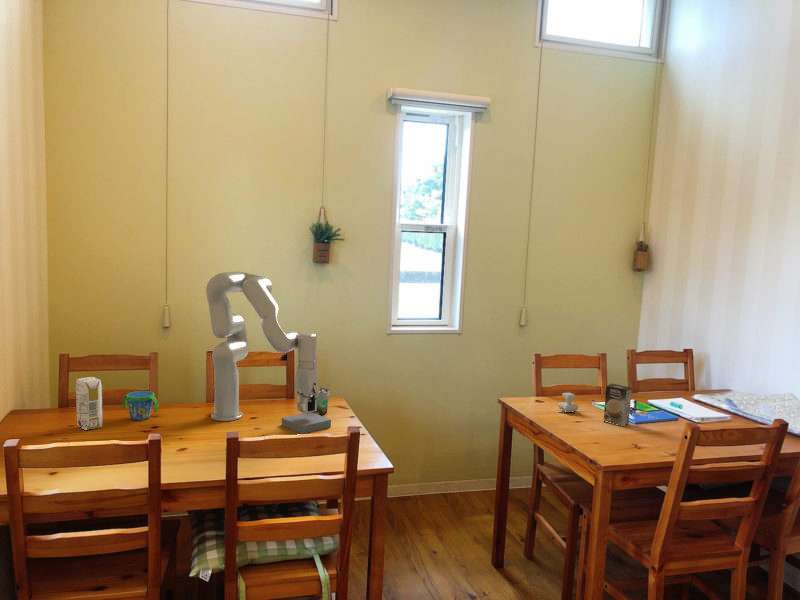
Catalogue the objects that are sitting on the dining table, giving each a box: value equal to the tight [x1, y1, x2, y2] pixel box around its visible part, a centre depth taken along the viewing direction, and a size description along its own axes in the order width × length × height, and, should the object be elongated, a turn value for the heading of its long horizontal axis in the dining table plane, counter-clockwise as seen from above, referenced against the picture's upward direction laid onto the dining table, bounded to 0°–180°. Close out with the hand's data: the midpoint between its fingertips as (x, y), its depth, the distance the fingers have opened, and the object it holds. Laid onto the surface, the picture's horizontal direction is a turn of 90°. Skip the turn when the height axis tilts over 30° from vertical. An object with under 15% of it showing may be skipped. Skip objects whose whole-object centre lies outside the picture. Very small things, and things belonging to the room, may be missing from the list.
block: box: [296, 394, 317, 413], centre depth 237 cm, size 6×6×6 cm
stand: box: [281, 412, 332, 435], centre depth 238 cm, size 14×14×3 cm
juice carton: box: [75, 376, 103, 431], centre depth 228 cm, size 8×9×19 cm
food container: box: [313, 386, 331, 416], centre depth 255 cm, size 12×6×10 cm, turn 168°
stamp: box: [557, 392, 580, 413], centre depth 269 cm, size 9×7×8 cm
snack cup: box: [121, 390, 160, 421], centre depth 241 cm, size 16×10×10 cm
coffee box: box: [603, 383, 632, 427], centre depth 254 cm, size 9×6×16 cm
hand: (306, 408), depth 237 cm, fingers closed on block, 5 cm apart
